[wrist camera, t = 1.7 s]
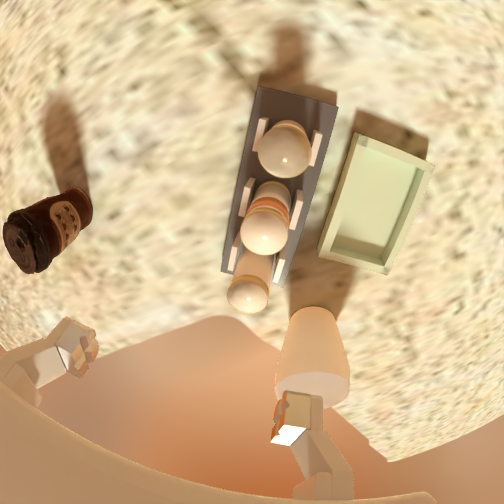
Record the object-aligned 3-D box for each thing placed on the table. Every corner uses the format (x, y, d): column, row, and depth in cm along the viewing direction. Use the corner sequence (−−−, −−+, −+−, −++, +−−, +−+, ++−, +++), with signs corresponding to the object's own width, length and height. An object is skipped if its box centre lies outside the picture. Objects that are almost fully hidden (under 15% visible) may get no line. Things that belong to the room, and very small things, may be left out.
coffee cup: (95, 178, 33) (27, 218, 22) (105, 233, 37) (49, 285, 26) (55, 181, 34) (-8, 217, 23) (65, 230, 38) (12, 274, 27)
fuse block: (259, 87, 25) (252, 83, 21) (336, 106, 25) (344, 107, 21) (223, 265, 37) (213, 288, 32) (283, 280, 36) (281, 305, 32)
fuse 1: (247, 230, 32) (230, 276, 24) (279, 239, 32) (272, 287, 24) (241, 258, 34) (223, 307, 26) (271, 266, 34) (262, 317, 26)
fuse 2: (273, 115, 25) (264, 120, 18) (310, 125, 25) (317, 134, 18) (265, 150, 27) (252, 170, 20) (301, 159, 27) (303, 184, 19)
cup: (341, 342, 41) (346, 408, 30) (283, 344, 42) (276, 410, 32) (345, 296, 36) (356, 367, 26) (278, 300, 38) (269, 371, 28)
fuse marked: (259, 176, 29) (245, 206, 21) (294, 185, 29) (293, 219, 21) (252, 208, 31) (236, 248, 23) (285, 216, 30) (281, 260, 23)
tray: (354, 131, 26) (359, 134, 24) (425, 160, 26) (435, 165, 24) (317, 246, 33) (318, 256, 31) (382, 264, 33) (387, 275, 31)
